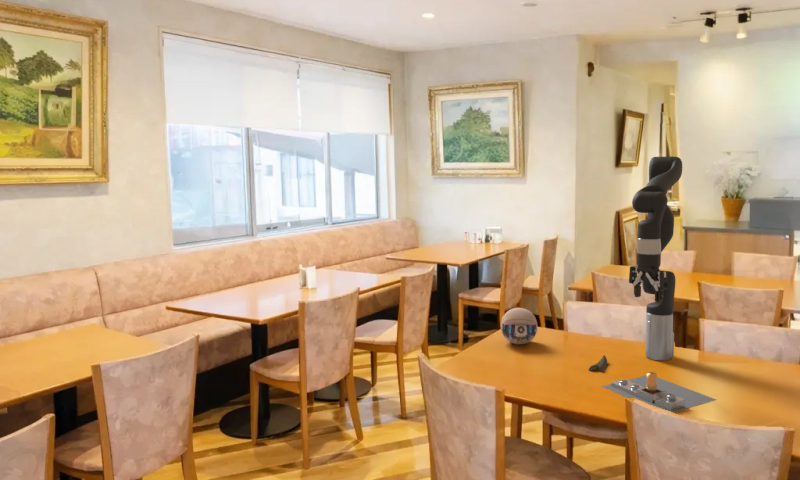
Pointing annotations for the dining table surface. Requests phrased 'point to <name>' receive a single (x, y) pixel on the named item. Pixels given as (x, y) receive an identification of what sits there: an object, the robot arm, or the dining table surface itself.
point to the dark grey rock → (599, 365)
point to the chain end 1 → (630, 388)
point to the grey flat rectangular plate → (682, 392)
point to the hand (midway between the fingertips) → (647, 299)
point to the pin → (651, 382)
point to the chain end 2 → (663, 399)
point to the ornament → (519, 326)
